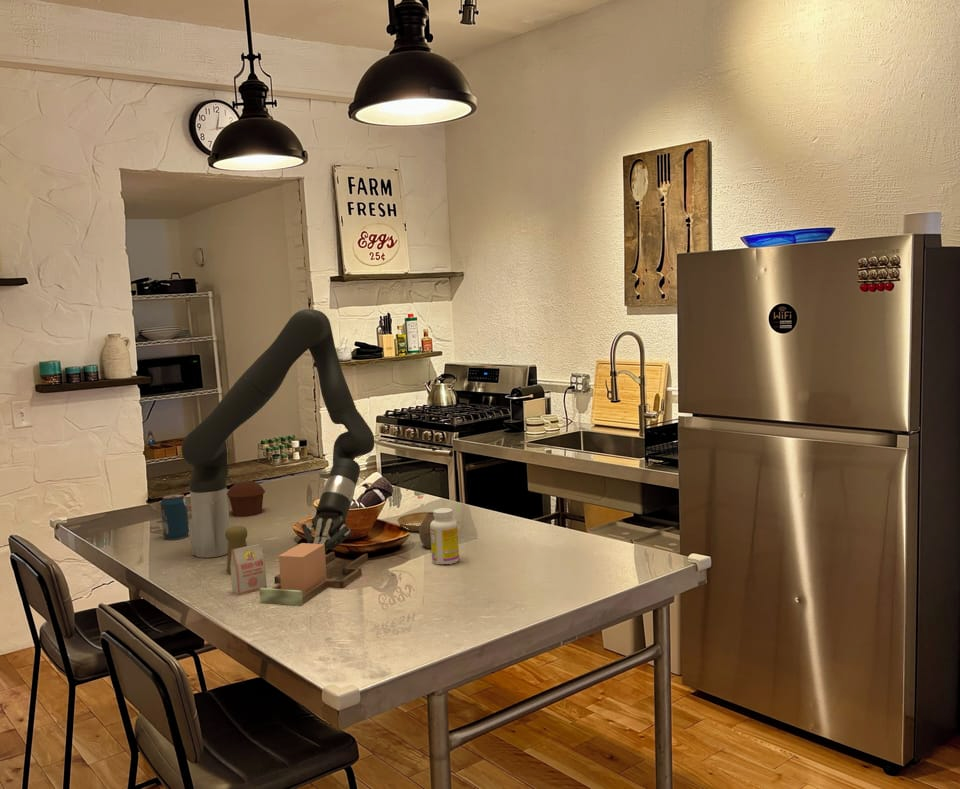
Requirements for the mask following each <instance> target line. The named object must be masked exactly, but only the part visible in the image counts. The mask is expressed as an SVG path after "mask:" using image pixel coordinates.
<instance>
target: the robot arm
mask: <svg viewBox="0 0 960 789" xmlns="http://www.w3.org/2000/svg"><path fill="white" fill-rule="evenodd" d="M332 329H333V328H332V326H331V322H330V319H329V317H328V316H327V315H326V314H325V313H324V312H322V311H320V310H318V309H309V308H308V309H305V308H304V309H301V310H299V311H297V312H295V313H293V315H292V316H291V317H290V318H289V319H288V321H287V322H286V323H285V325H284V327H283V329H282V330H280V332H279V334H278V335H277V337H276V338H275V339H274V341H272V344H270V345H269V347H268V348H267V349H266V350H264V352H262V354H260V356H258V358H257V359H255V361H254V362H253V363H252V364H251V365H250V366H249V367H248V368H247V369H246V370H245V371H244V372H243V373H242V374H241V376H240V377H239V378H238V379H237V380H236V381H235V383H234V384H233V385H232V387H231V388H230V389H229V390H228V391H227V393H226V394H225V395H223V398H222V399H221V400H220V402H218V404H217V406H215V408H214V409H213V411H211V412H210V414H209V415H207V417H205V419H203V420H202V421H201V422H200V423H199V424H198V425H197V426H196V427H195V428H193V430H191V431H190V432H188V434H186V436H185V437H184V438H183V440H182V444H181V449H180V451H181V457H182V458H183V460H184V461H185V462H186V463H187V464H189V465H192V466H193V470H192V475H191V477H190V479H189V484H188V487H189V496H190V507H191V518H189V519H188V526H189V534H190V546H191V548H190V549H191V556H195V557H198V558H203V559H204V558H205V559H206V558H207V559H209V558H215V557H221V556H225V555H228V540H227V539H226V536H225V533H226V530H227V529H228V528H230V527H231V526H230V523H231V522H230V513H229V512H230V511H229V500H228V499H229V498H228V495H227V493H228V490H227V478H228V474H229V461H228V460H229V458H228V444H227V440H228V438H229V437H230V436H231V435H232V433H233V432H235V431H236V430H237V429H238V428H239V427H240V426H242V425H243V424H244V423H246V422H247V421H248V420H249V419H251V418H252V417H253V416H254V415H255V414H257V413H258V412H259V411H260V410H262V409H263V407H264V406H265V405H266V404H268V402H269V401H270V400H271V399H272V397H274V395H275V394H276V393H277V392H278V390H279V388H280V387H281V386H282V384H283V382H284V380H285V378H286V377H287V374H288V372H289V371H290V369H291V368H292V366H293V365H294V363H295V362H296V361H297V360H299V358H300V357H302V355H304V353H305V352H307V351H308V350H309V352H310V355H311V357H312V359H313V361H314V365H315V367H316V370H317V371H316V372H317V375H318V377H317V378H318V383H319V388H320V389H319V390H320V393H321V397H322V399H323V403H324V405H325V408H326V410H327V413H328V416H329V418H330V420H331V422H332V423H333V424H335V425H342V426H343V427H345V429H346V431H344V432H341V433H340V434H339V435H338V436H337V438H336V439H335V441H334V443H333V451H332V452H333V453H332V467H331V468H330V469H331V470H330V472H329V475H328V478H327V481H326V482H325V484H324V487H323V490H322V493H321V496H320V498H319V501H318V504H317V507H316V511H315V512H316V513H315V515H314V517H313V518H312V519H311V522H310V523H307V524H306V523H303V524H302V525H300V526H301V530H302V532H303V535H304V537H305V539H306V541H307V543H310V544H325V554H326V552H327V551H328V550H329V549H334V550H335V549H336V548H337V547H338V546H339V545H340V544H342V542H344V541H345V540H346V539H347V538H349V536H351V535H352V533H353V532H352V530H351V529H350V528H349V526H348V525H347V524H346V523H347V522H346V520H347V518H348V515H349V511H350V508H351V506H352V503H353V500H354V496H355V490H356V486H357V483H358V480H359V477H360V473H361V467H360V464H359V463H358V462H357V461H356V459H355V458H358V457H362V456H365V455H368V454H370V453H371V452H372V451H373V450H374V448H375V445H376V444H375V441H376V440H375V436H374V432H373V430H372V428H370V426H369V424H368V423H367V422H366V420H365V419H364V418H363V416H362V414H361V413H360V412H359V411H358V409H357V406H356V404H355V401H354V399H353V396H352V394H351V390H350V389H349V385H348V383H347V381H346V378H345V375H344V373H343V369H342V367H341V363H340V360H339V357H338V354H337V349H336V348H337V347H336V346H335V341H334V339H335V338H334V334H333V330H332ZM313 531H314V532H313ZM313 533H314V536H313Z"/></svg>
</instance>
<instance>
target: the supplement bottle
mask: <svg viewBox="0 0 960 789" xmlns="http://www.w3.org/2000/svg"><path fill="white" fill-rule="evenodd" d="M432 512H433V516H434V517H435V520H433V521H432V522H431V524H430V532H431V548H430V549H431V560H432V563H433V562H434V563H433V564H435V563H436V564H435V565H438V564H450V565H452V564H451V563H454V564H456V563H457V561H458V562H459V560H460V552H459V536H458V535H459V533H458V522H457V521H456V519H454V518H453V514H454V512H453V509H452V508H448V507H441V508H436V509H433V510H432ZM455 562H456V563H455Z"/></svg>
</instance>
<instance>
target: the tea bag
mask: <svg viewBox="0 0 960 789" xmlns="http://www.w3.org/2000/svg"><path fill="white" fill-rule="evenodd" d="M264 557H265V556H264V553H263V548H262V544H261V543H258V544H253V545H247V547H243V548H238V549H233V550H232V555H231V564H230V568H231V574H230V578H231V591H232V592H233V593H235V594H236V595H237V596H239V595H244V594H248V593H251V591H252V592H255V590H256V591H259V589H260V588H268V586H267V585H268V584H267V574H266V573H267V572H266V562H265V558H264ZM247 592H248V593H247ZM243 593H244V594H243Z"/></svg>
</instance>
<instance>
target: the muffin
mask: <svg viewBox="0 0 960 789" xmlns="http://www.w3.org/2000/svg"><path fill="white" fill-rule="evenodd" d="M265 492H266V491H265V489H264V488H263V487H262V485H260V483H258V482H256V481H253V480H252V481H251V480H242V481H239V482H236V483H234V484H233V485H232V486H231V487H230V488H229V489H228V490H227V498H228V499H229V502H230V503H229V504H230V507H231V510H232V511H231V512H232V514H233V516H234V517H238V518H243V517H252V516H257V515H259V514H262V513H263V505H264V504H263V502H264V500H263V499H264V494H265Z"/></svg>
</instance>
